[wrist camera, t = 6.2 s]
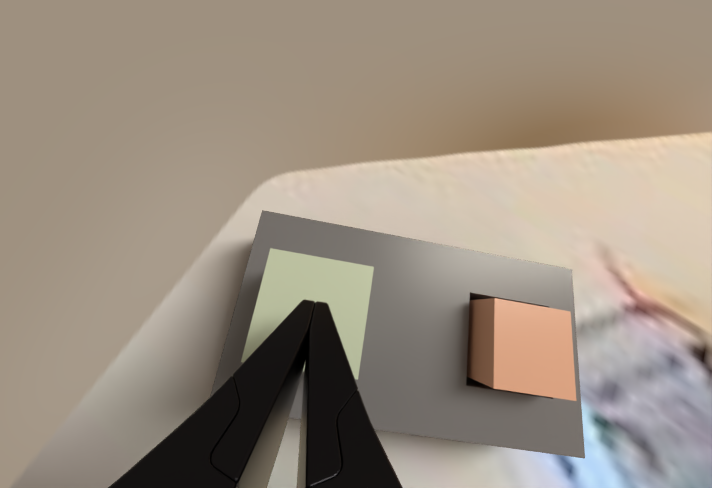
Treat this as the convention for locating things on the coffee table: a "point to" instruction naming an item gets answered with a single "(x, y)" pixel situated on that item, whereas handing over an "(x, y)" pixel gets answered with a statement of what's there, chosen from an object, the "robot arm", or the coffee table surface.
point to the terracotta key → (521, 348)
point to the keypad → (425, 334)
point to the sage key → (313, 298)
